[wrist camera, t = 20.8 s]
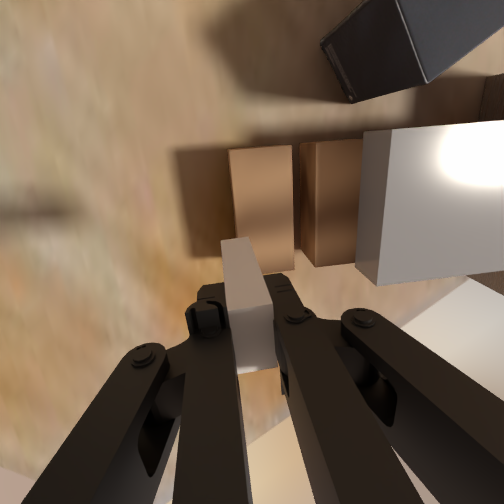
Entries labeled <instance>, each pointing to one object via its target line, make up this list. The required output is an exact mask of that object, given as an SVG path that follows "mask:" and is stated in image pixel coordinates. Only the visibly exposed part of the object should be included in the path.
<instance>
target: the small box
mask: <svg viewBox="0 0 504 504" xmlns="http://www.w3.org/2000/svg"><path fill="white" fill-rule="evenodd" d="M502 27H504V0H364V1H363V2H362V3H361V4H360V5H358V6H357V7H356V8H355V9H354V10H353V11H352V12H351V13H350V14H349V16H347V17H346V18H345V19H344V20H343V21H342V22H341V23H340V24H338V25H337V26H336V27H335V28H334V29H333V30H332V31H331V32H329V33H328V34H327V35H326V36H325V37H323V38H322V39H321V41H320V46H322V50H323V51H324V53H325V54H326V56H327V59H328V60H329V62H330V64H331V66H332V68H333V70H334V72H335V74H336V76H337V79H338V80H339V82H340V84H341V88H342V90H343V92H344V93H345V95H346V96H347V98H348V100H349V102H350V103H351V104H354V103H357V102H361V101H364V100H368V99H371V98H375V97H379V96H382V95H386V94H390V93H393V92H397V91H401V90H404V89H409V88H412V87H415V86H419V85H424V84H428V83H430V82H431V81H432V80H434V79H435V78H436V77H438V76H439V75H440V74H442V73H443V72H444V71H446V70H447V69H448V68H449V67H451V66H452V65H453V64H455V63H456V62H457V61H459V60H460V59H461V58H463V57H464V56H465V55H467V54H468V53H469V52H471V51H472V50H473V49H475V48H476V47H477V46H479V45H480V44H481V43H483V42H484V41H485V40H487V39H488V38H489V37H490V36H492V35H493V34H494V33H496V32H497V31H498V30H500V29H501V28H502Z"/></svg>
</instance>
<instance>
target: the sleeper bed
mask: <svg viewBox="0 0 504 504" xmlns="http://www.w3.org/2000/svg"><path fill="white" fill-rule="evenodd" d="M362 150H363V139H345V140H333V141H321V142H309V143H299V160H300V236H301V250H302V251H303V253H304V254H305V255H306V257H307V258H308V259H309V260H310V262H311V263H312V264H313V265H314V267H323V266H332V265H340V264H349V263H355V256H356V241H357V226H358V211H359V196H360V180H361V165H362ZM227 153H228V163H229V173H230V182H231V192H232V202H233V212H234V222H235V232H236V238H242V237H249V240H250V243H251V245H252V248H253V251H254V254H255V256H256V259H257V262H258V264H259V267H260V270H261V273H262V274H265V273H273V272H281V271H290V270H294V226H293V182H292V145H273V146H261V147H248V148H236V149H227Z"/></svg>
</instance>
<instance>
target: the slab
mask: <svg viewBox="0 0 504 504" xmlns="http://www.w3.org/2000/svg"><path fill="white" fill-rule="evenodd" d="M355 267H356V268H357V269H358V270H359V271H360V272H361V273H362V274H363V275H364V276H366V277H367V278H368V279H369V280H370V281H371V282H372V283H373V284H375V285H376V286H384V285H392V284H400V283H408V282H416V281H424V280H432V279H440V278H448V277H456V276H464V275H472V274H480V273H488V272H495V271H503V270H504V120H503V121H490V122H478V123H465V124H453V125H440V126H428V127H415V128H402V129H390V130H378V131H366V132H364V135H363V150H362V165H361V180H360V196H359V211H358V226H357V241H356V256H355Z"/></svg>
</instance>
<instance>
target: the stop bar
mask: <svg viewBox="0 0 504 504" xmlns="http://www.w3.org/2000/svg"><path fill="white" fill-rule="evenodd" d="M503 120H504V73H503V74H499V75H495V76H491V77H487V79H486V84H485V89H484V94H483V99H482V104H481V109H480V114H479V119H478V122H490V121H503ZM466 276H468V277H470V278H472V279H474V280H475V281H477V282H479V283H481V284H483V285H485V286H487V287H489V288H490V289H493V290H494V291H496V292H498V293H500V294H502V295H504V270H503V271H495V272H488V273H480V274H472V275H466Z"/></svg>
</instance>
